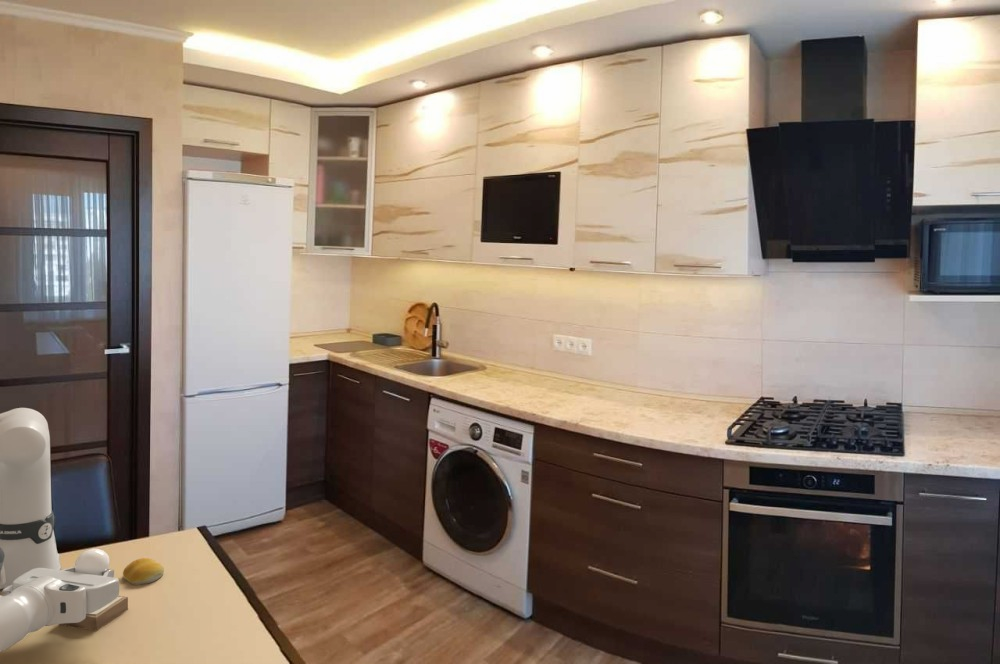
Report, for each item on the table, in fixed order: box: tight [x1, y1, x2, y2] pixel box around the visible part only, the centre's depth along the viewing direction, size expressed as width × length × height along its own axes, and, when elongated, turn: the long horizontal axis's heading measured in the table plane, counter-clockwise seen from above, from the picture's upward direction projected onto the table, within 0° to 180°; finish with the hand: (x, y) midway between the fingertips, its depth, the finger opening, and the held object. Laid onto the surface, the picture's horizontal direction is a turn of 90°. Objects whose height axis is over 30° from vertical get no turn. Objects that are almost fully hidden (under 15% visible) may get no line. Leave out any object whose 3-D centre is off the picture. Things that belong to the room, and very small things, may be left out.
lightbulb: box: [74, 548, 111, 576], centre depth 145 cm, size 6×6×11 cm
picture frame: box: [58, 595, 129, 631], centre depth 146 cm, size 9×9×3 cm
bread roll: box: [122, 557, 164, 585], centre depth 165 cm, size 8×9×4 cm
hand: (96, 570), depth 146 cm, fingers closed on lightbulb, 6 cm apart
